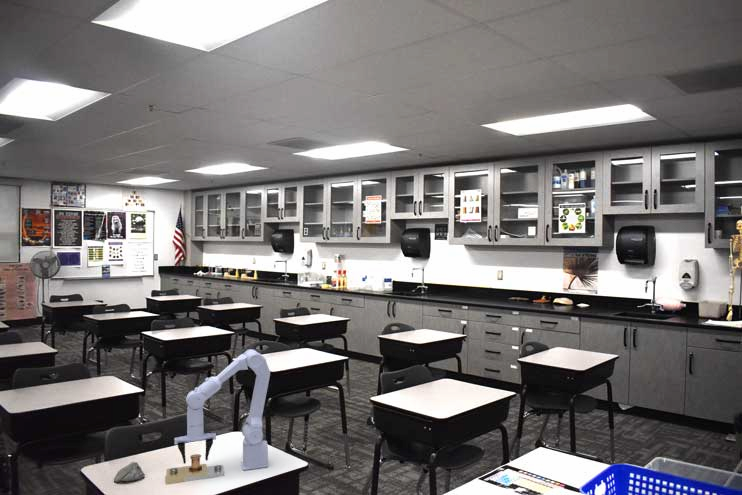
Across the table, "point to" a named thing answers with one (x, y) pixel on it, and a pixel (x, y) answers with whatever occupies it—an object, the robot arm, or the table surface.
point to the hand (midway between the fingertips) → (195, 461)
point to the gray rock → (129, 473)
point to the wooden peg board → (193, 473)
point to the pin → (195, 462)
